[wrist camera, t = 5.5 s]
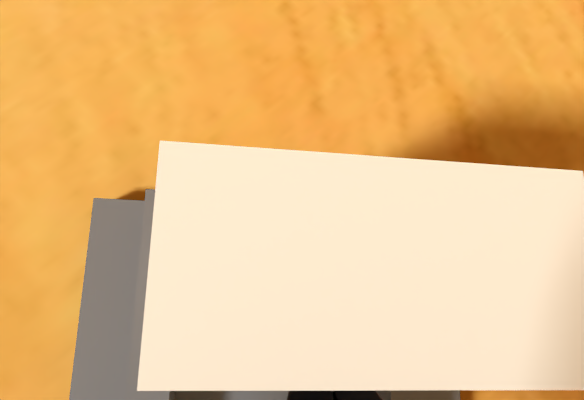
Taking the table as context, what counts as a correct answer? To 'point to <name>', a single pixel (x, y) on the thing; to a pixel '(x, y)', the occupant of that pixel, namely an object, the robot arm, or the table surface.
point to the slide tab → (361, 273)
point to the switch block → (138, 314)
